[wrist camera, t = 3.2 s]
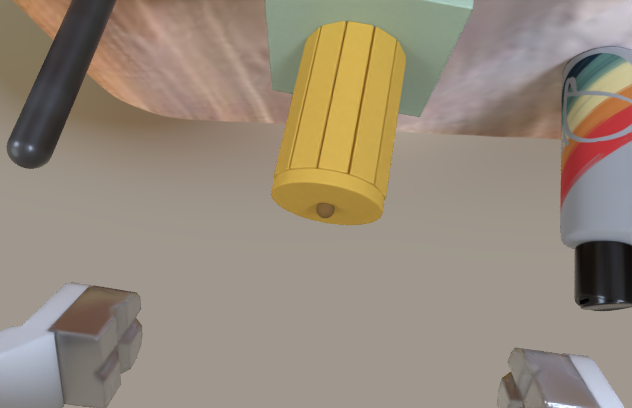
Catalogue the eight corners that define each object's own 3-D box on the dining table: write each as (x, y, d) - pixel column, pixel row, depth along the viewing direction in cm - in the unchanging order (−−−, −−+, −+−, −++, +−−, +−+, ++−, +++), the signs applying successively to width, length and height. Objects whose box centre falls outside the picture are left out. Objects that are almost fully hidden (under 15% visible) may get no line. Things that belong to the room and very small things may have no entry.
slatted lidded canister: (306, 12, 27) (264, 186, 23) (415, 32, 27) (390, 210, 23) (303, 99, 35) (272, 236, 32) (386, 114, 35) (364, 253, 31)
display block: (296, -148, 28) (261, -30, 24) (485, -115, 27) (473, 8, 24) (296, -6, 38) (271, 90, 35) (432, 19, 38) (420, 117, 35)
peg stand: (-3, -176, 29) (-177, 102, 23) (164, -211, 26) (17, 108, 19) (118, -21, 40) (25, 199, 33) (247, -30, 36) (173, 214, 30)
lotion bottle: (584, 39, 37) (586, 296, 30) (660, 51, 36) (679, 313, 30) (549, 82, 42) (544, 308, 35) (615, 92, 42) (622, 323, 35)
